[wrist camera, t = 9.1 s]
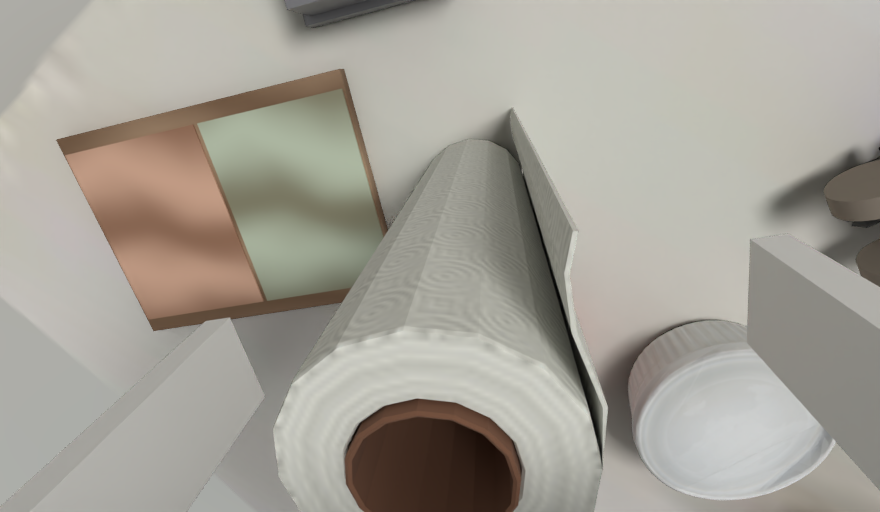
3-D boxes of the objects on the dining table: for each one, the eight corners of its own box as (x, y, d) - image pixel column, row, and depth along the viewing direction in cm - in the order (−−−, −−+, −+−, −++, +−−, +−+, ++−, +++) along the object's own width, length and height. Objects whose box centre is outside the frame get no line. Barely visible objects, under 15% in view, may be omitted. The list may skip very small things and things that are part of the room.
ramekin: (734, 457, 33) (775, 523, 29) (588, 415, 33) (604, 474, 28) (825, 332, 29) (892, 386, 24) (657, 283, 29) (690, 327, 24)
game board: (403, 287, 31) (401, 294, 30) (160, 325, 34) (152, 331, 33) (343, 69, 26) (339, 69, 25) (67, 137, 29) (54, 140, 28)
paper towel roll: (456, 251, 29) (384, 622, 10) (406, 170, 28) (197, 420, 8) (560, 197, 27) (733, 530, 8) (512, 106, 26) (580, 234, 6)
